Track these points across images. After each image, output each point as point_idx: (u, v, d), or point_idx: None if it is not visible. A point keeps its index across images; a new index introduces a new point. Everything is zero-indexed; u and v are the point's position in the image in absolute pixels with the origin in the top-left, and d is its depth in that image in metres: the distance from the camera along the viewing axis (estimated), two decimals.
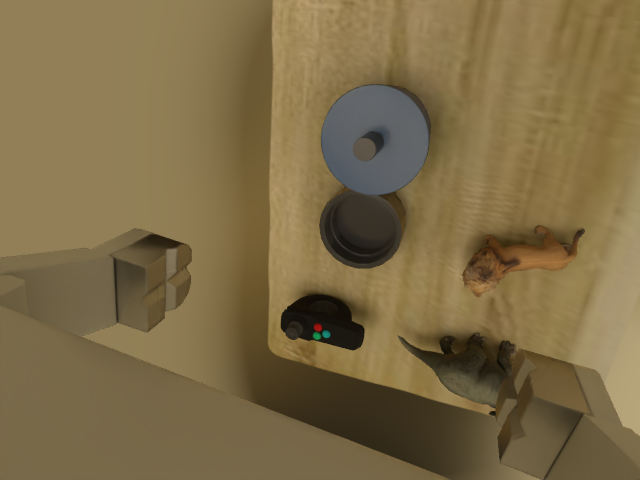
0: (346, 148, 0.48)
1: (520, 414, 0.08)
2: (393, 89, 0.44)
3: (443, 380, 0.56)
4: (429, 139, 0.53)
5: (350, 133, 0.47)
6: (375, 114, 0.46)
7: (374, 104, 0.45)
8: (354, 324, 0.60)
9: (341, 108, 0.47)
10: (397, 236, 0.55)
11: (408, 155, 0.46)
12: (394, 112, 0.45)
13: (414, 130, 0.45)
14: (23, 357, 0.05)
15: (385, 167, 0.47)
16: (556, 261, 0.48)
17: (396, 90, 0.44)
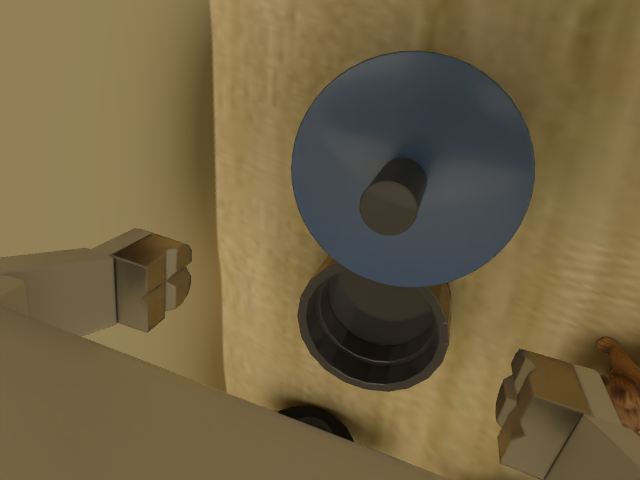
0: (345, 192, 0.23)
1: (520, 414, 0.08)
2: (455, 61, 0.19)
3: None
4: None
5: (353, 161, 0.22)
6: (409, 120, 0.20)
7: (408, 99, 0.20)
8: None
9: (333, 107, 0.21)
10: (440, 344, 0.29)
11: (482, 211, 0.21)
12: (454, 116, 0.20)
13: (502, 157, 0.20)
14: (23, 357, 0.05)
15: (428, 234, 0.22)
16: None
17: (462, 64, 0.19)
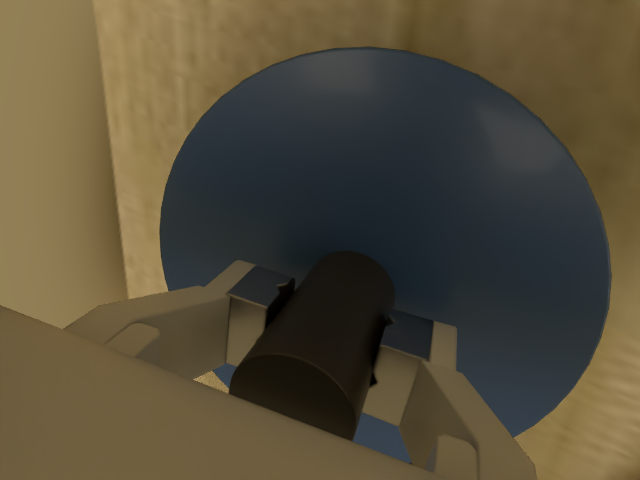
0: None
1: (374, 364, 0.08)
2: (447, 70, 0.09)
3: None
4: None
5: (262, 250, 0.12)
6: (359, 184, 0.10)
7: (355, 143, 0.10)
8: None
9: (218, 153, 0.11)
10: None
11: (501, 356, 0.11)
12: (447, 179, 0.10)
13: (542, 262, 0.10)
14: (23, 357, 0.05)
15: None
16: None
17: (462, 75, 0.09)
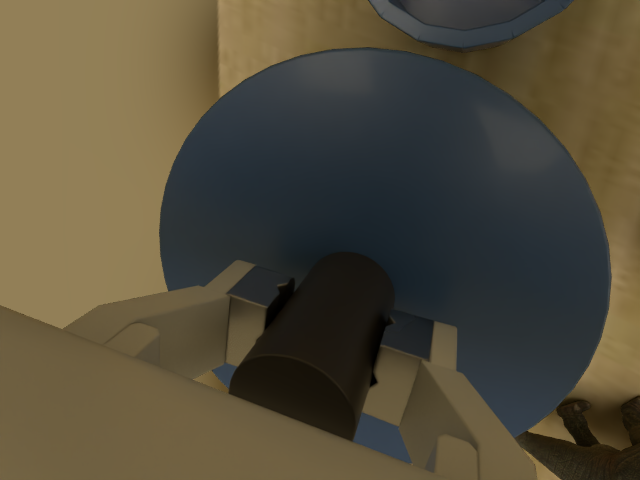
0: None
1: (374, 364, 0.08)
2: (446, 70, 0.09)
3: None
4: None
5: (261, 251, 0.12)
6: (359, 184, 0.10)
7: (355, 143, 0.10)
8: None
9: (218, 154, 0.11)
10: None
11: (501, 357, 0.11)
12: (447, 180, 0.10)
13: (542, 264, 0.10)
14: (23, 357, 0.05)
15: None
16: None
17: (462, 75, 0.09)
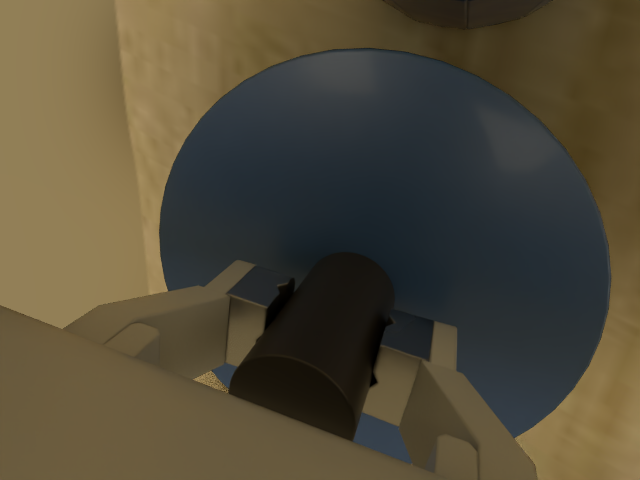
0: None
1: (374, 364, 0.08)
2: (446, 71, 0.09)
3: None
4: None
5: (261, 251, 0.12)
6: (359, 185, 0.10)
7: (355, 144, 0.10)
8: None
9: (218, 154, 0.11)
10: None
11: (501, 357, 0.11)
12: (446, 180, 0.10)
13: (542, 264, 0.10)
14: (23, 357, 0.05)
15: None
16: None
17: (462, 76, 0.09)
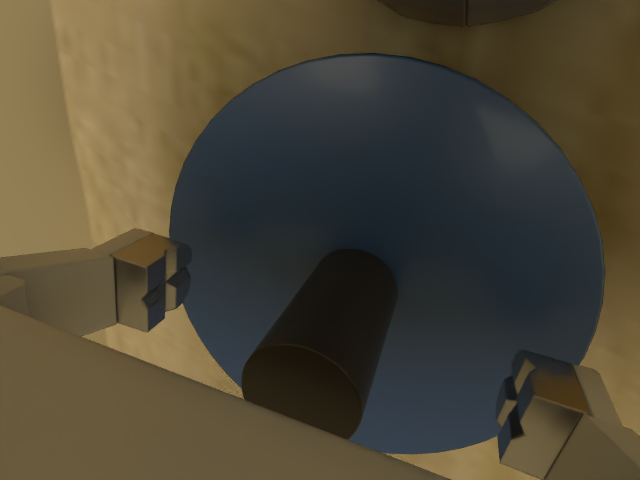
0: (259, 298, 0.13)
1: (520, 414, 0.08)
2: (447, 75, 0.09)
3: None
4: None
5: (268, 248, 0.12)
6: (363, 184, 0.11)
7: (359, 144, 0.10)
8: None
9: (227, 155, 0.12)
10: None
11: (500, 349, 0.11)
12: (447, 179, 0.10)
13: (539, 260, 0.10)
14: (23, 357, 0.05)
15: (403, 377, 0.12)
16: None
17: (462, 80, 0.09)
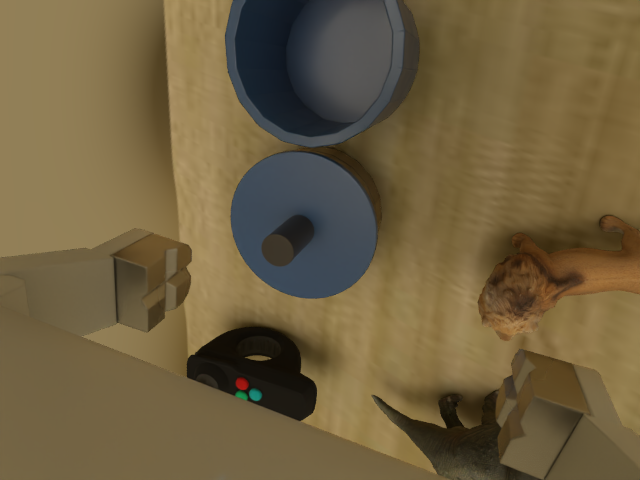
0: (265, 236, 0.34)
1: (520, 414, 0.08)
2: (323, 159, 0.30)
3: None
4: (417, 67, 0.31)
5: (269, 216, 0.33)
6: (300, 192, 0.32)
7: (298, 179, 0.32)
8: (300, 379, 0.37)
9: (254, 182, 0.33)
10: None
11: (349, 249, 0.32)
12: (326, 190, 0.31)
13: (356, 216, 0.31)
14: (23, 357, 0.05)
15: (318, 263, 0.34)
16: None
17: (327, 160, 0.30)
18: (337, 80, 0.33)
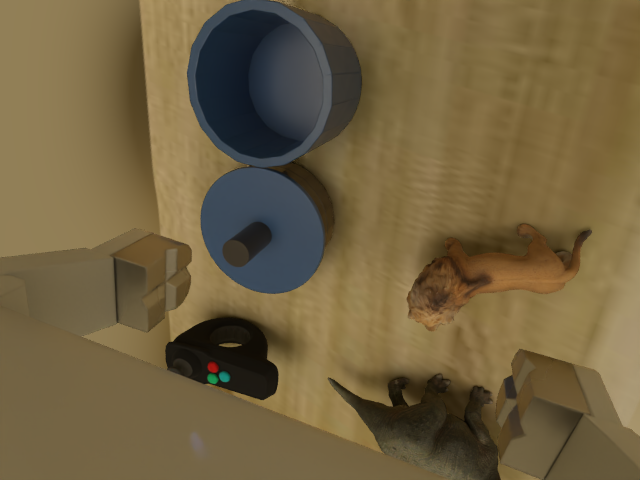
0: (230, 239, 0.39)
1: (520, 414, 0.08)
2: (276, 174, 0.35)
3: (383, 449, 0.38)
4: (359, 94, 0.36)
5: (233, 222, 0.38)
6: (259, 202, 0.37)
7: (257, 191, 0.36)
8: (263, 363, 0.42)
9: (219, 192, 0.38)
10: None
11: (301, 251, 0.37)
12: (280, 201, 0.36)
13: (306, 223, 0.36)
14: (23, 357, 0.05)
15: (276, 263, 0.39)
16: (547, 280, 0.31)
17: (280, 176, 0.35)
18: (292, 103, 0.38)
